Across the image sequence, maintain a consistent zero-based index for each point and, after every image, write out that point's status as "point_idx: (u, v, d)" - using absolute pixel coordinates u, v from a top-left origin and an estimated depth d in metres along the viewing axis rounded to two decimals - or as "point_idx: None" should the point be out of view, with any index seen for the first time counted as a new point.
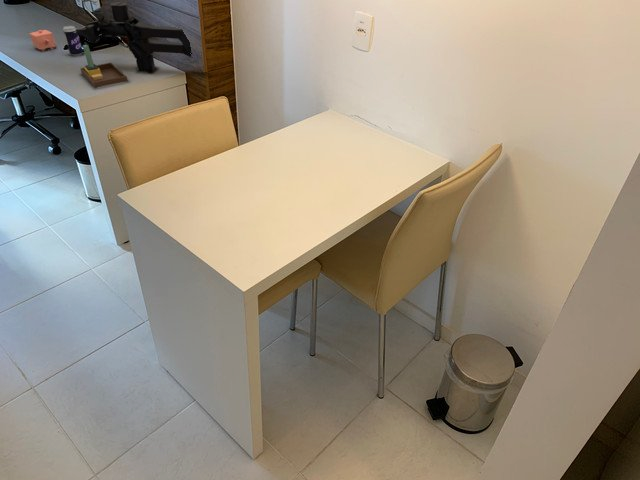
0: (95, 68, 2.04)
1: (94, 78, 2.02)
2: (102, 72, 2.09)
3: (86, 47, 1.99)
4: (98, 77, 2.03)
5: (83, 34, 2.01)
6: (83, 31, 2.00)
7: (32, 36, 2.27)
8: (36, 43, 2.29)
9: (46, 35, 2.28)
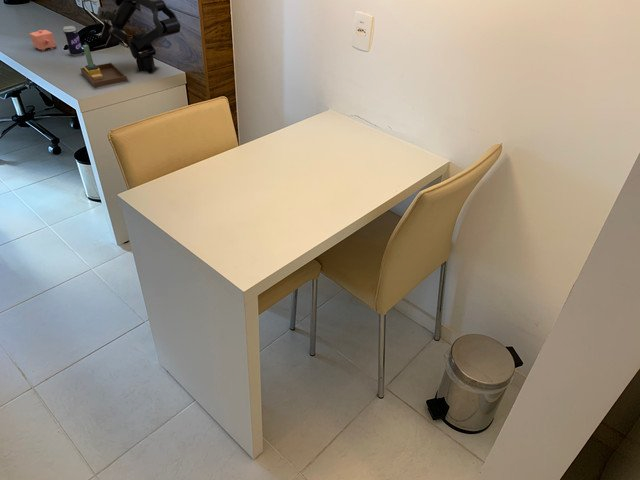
0: (95, 68, 2.04)
1: (94, 78, 2.02)
2: (102, 72, 2.09)
3: (86, 47, 1.99)
4: (98, 77, 2.03)
5: (113, 43, 2.01)
6: (111, 40, 2.00)
7: (32, 36, 2.27)
8: (36, 43, 2.29)
9: (46, 35, 2.28)
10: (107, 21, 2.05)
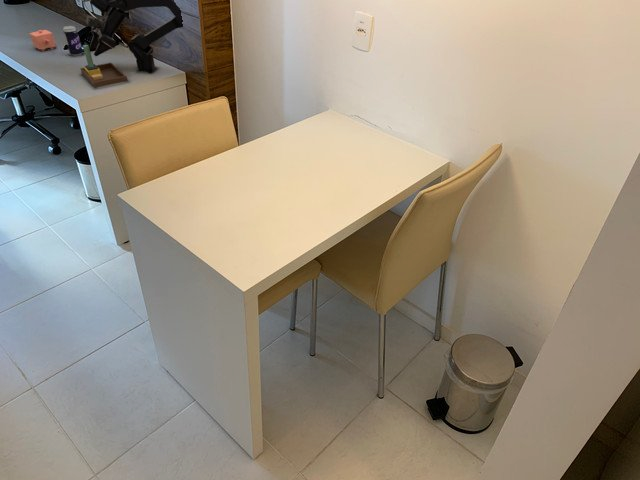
0: (95, 68, 2.04)
1: (94, 78, 2.02)
2: (102, 72, 2.09)
3: (86, 47, 1.99)
4: (98, 77, 2.03)
5: (102, 51, 1.99)
6: (100, 48, 1.98)
7: (32, 36, 2.27)
8: (36, 44, 2.29)
9: (46, 35, 2.28)
10: (96, 31, 2.04)
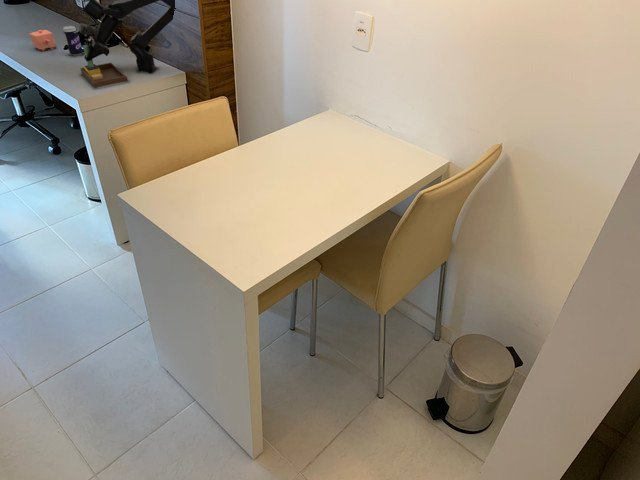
0: (95, 68, 2.04)
1: (94, 78, 2.02)
2: (102, 72, 2.09)
3: (86, 47, 1.99)
4: (98, 77, 2.03)
5: (93, 56, 2.01)
6: (91, 53, 2.00)
7: (32, 36, 2.27)
8: (36, 43, 2.29)
9: (46, 35, 2.28)
10: (91, 41, 2.02)
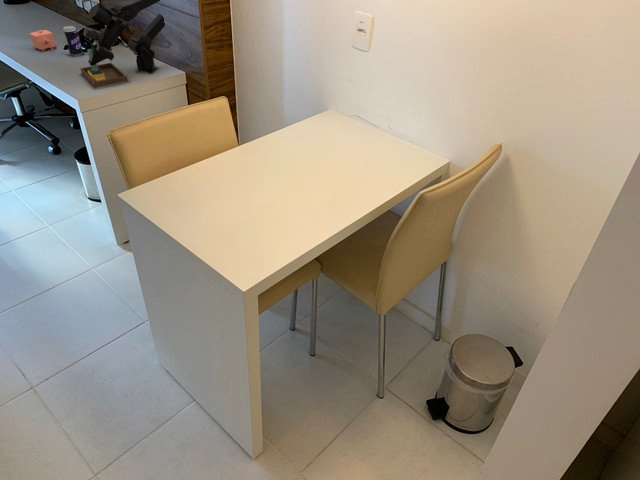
0: (99, 72, 2.01)
1: None
2: None
3: (91, 51, 1.95)
4: None
5: (98, 61, 1.97)
6: (95, 57, 1.96)
7: (32, 36, 2.27)
8: (36, 44, 2.29)
9: (46, 35, 2.28)
10: (96, 45, 1.98)
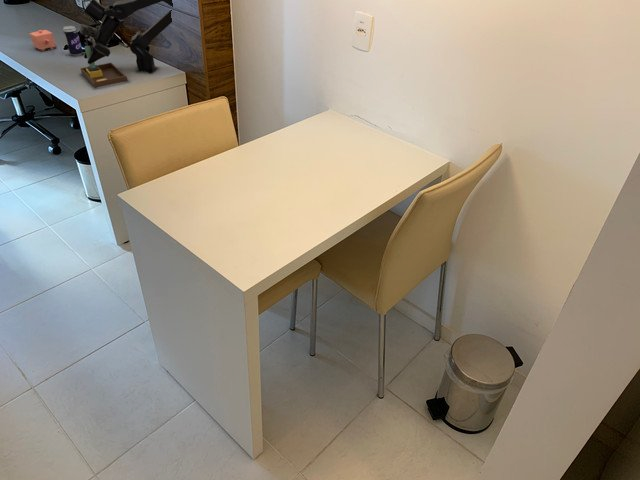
0: (96, 69, 2.04)
1: None
2: (102, 72, 2.09)
3: (88, 48, 1.98)
4: None
5: (95, 59, 1.99)
6: (93, 56, 1.98)
7: (32, 36, 2.27)
8: (36, 43, 2.29)
9: (46, 35, 2.28)
10: (90, 40, 2.03)
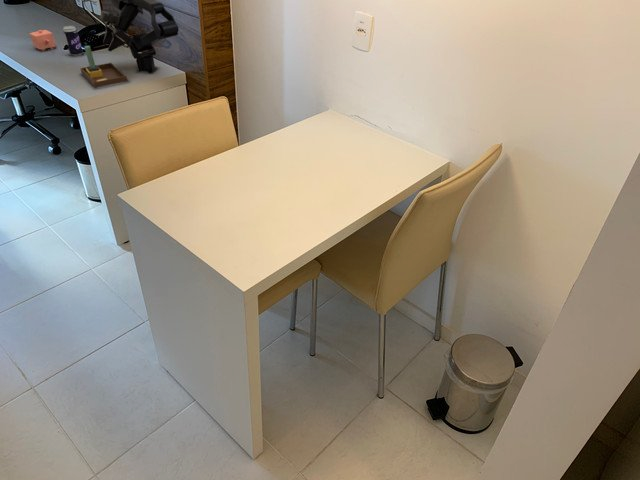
0: (96, 69, 2.04)
1: None
2: (102, 72, 2.09)
3: (88, 48, 1.98)
4: None
5: (116, 46, 2.00)
6: (114, 43, 1.99)
7: (32, 36, 2.27)
8: (36, 43, 2.29)
9: (46, 35, 2.28)
10: (110, 26, 2.05)
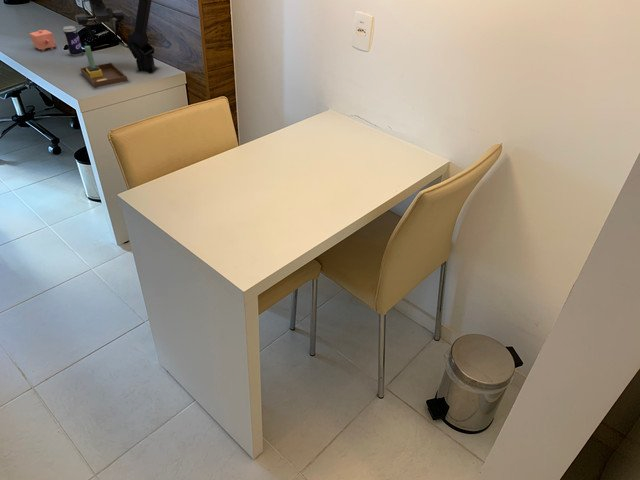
0: (96, 69, 2.04)
1: None
2: (102, 72, 2.09)
3: (88, 48, 1.98)
4: None
5: None
6: None
7: (32, 36, 2.27)
8: (36, 43, 2.29)
9: (46, 35, 2.28)
10: None
